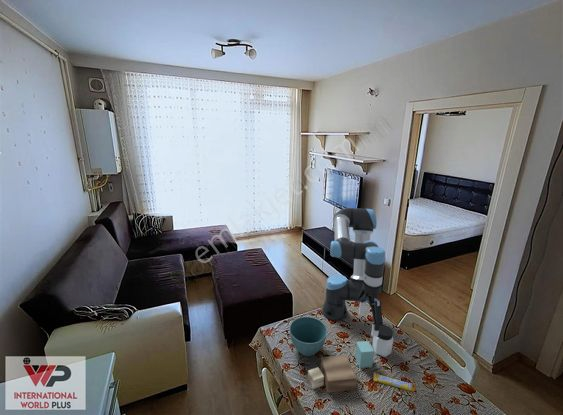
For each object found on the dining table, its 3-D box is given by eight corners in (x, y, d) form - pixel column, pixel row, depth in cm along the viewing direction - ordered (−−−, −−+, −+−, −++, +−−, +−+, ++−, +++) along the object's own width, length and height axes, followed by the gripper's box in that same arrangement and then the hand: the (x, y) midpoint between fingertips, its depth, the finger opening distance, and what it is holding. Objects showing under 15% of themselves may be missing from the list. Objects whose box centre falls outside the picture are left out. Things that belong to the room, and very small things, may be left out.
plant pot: (283, 356, 125) (283, 335, 122) (297, 331, 141) (298, 312, 138) (319, 370, 118) (320, 348, 114) (330, 343, 133) (331, 323, 130)
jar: (383, 359, 124) (385, 339, 120) (369, 348, 130) (371, 328, 127) (394, 351, 128) (397, 331, 125) (380, 341, 135) (382, 321, 132)
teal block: (354, 357, 125) (356, 342, 122) (366, 356, 125) (368, 341, 123) (359, 368, 119) (361, 352, 117) (372, 366, 120) (374, 351, 117)
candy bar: (414, 385, 111) (414, 382, 111) (415, 394, 108) (416, 390, 107) (373, 374, 117) (373, 370, 116) (373, 382, 113) (373, 378, 112)
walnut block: (320, 367, 119) (321, 357, 118) (345, 365, 120) (346, 354, 119) (327, 392, 108) (328, 381, 106) (355, 389, 109) (356, 378, 107)
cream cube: (307, 379, 114) (308, 370, 112) (317, 375, 115) (318, 366, 114) (313, 389, 109) (313, 380, 108) (323, 385, 111) (324, 376, 109)
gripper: (353, 268, 122) (349, 307, 128) (377, 301, 98) (372, 346, 104) (368, 267, 123) (364, 306, 129) (396, 299, 99) (389, 344, 105)
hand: (367, 324), depth 116 cm, fingers open, 13 cm apart
